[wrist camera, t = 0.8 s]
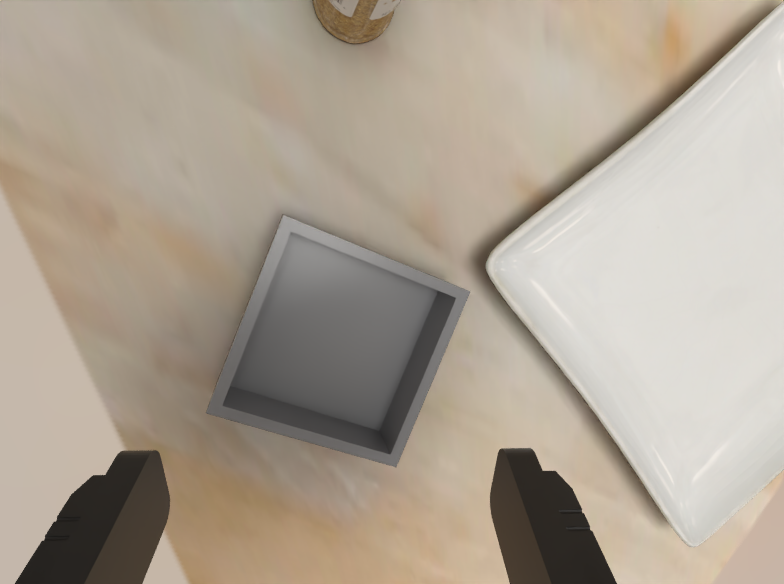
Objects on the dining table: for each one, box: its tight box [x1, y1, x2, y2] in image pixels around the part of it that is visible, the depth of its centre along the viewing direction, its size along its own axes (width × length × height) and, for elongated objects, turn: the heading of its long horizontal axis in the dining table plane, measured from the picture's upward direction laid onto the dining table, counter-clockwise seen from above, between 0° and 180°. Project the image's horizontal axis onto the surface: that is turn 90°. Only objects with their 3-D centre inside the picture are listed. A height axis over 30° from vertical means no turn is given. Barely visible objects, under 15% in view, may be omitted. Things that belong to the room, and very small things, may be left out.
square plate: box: [486, 1, 784, 547], centre depth 33 cm, size 27×27×4 cm
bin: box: [206, 215, 470, 467], centre depth 27 cm, size 11×11×4 cm
